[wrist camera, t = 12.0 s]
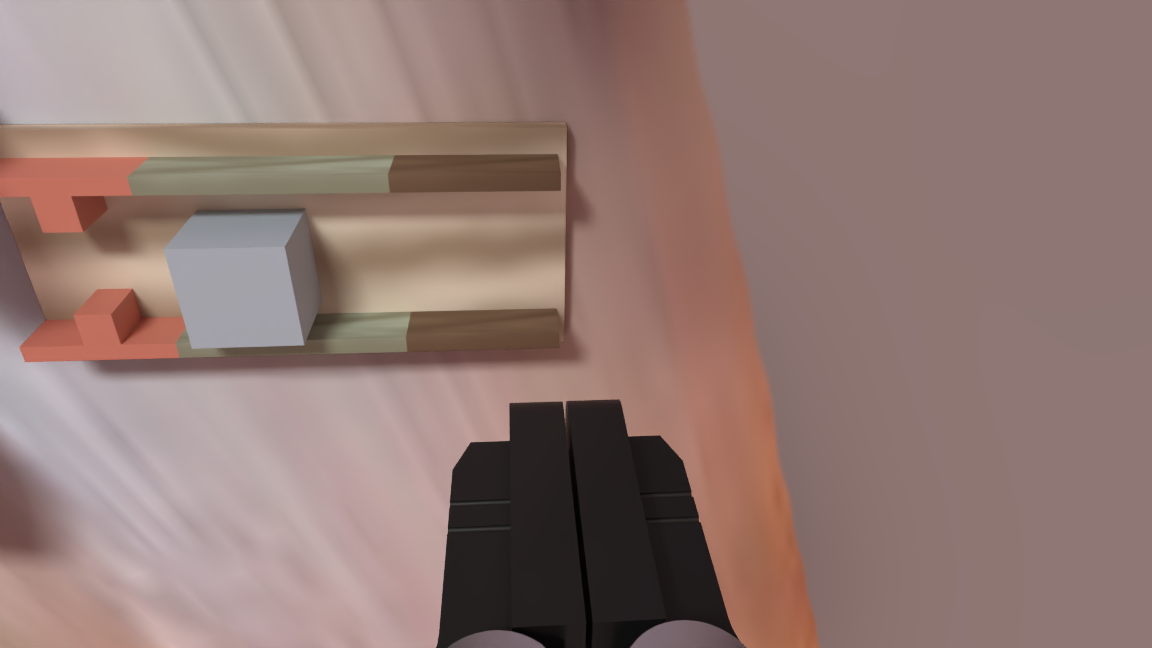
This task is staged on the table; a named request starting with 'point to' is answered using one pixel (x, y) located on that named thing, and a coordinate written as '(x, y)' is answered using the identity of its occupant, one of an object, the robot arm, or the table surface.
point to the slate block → (245, 277)
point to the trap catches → (109, 316)
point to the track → (329, 225)
